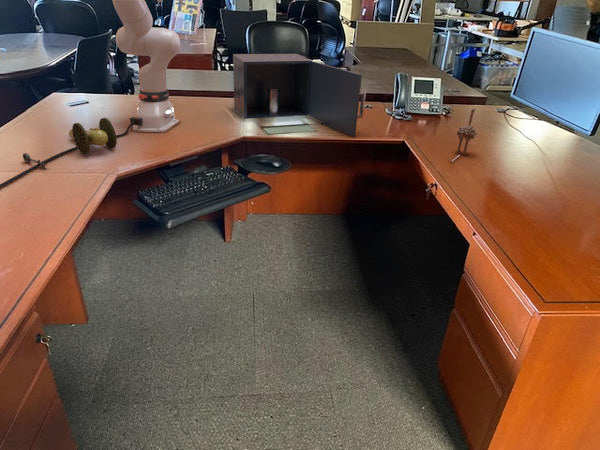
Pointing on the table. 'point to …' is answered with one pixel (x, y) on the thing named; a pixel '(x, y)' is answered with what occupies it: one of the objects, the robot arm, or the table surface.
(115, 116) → the table surface
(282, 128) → the desk mat
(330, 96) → the cupboard door
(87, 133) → the cannon
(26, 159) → the key
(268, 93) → the steel tumbler
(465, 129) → the ostrich figurine
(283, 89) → the cupboard
